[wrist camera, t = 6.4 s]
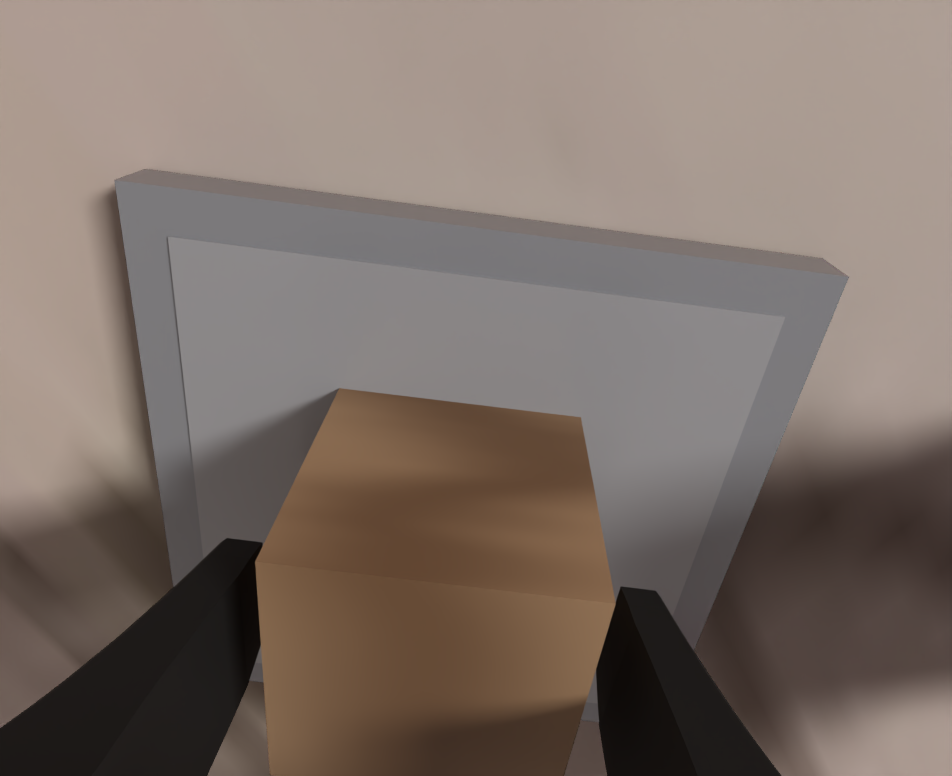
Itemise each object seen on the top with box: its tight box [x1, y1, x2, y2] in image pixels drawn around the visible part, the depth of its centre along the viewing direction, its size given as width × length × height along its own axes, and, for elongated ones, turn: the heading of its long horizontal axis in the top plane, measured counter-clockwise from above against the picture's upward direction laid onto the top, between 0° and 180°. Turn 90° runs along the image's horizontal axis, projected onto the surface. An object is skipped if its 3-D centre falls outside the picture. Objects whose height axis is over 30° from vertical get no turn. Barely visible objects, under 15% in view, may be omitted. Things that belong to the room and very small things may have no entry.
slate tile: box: [115, 169, 849, 722], centre depth 14 cm, size 12×12×1 cm
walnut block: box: [255, 388, 616, 776], centre depth 11 cm, size 4×4×4 cm
